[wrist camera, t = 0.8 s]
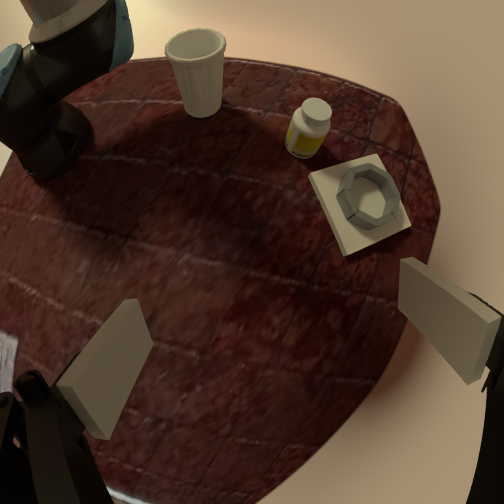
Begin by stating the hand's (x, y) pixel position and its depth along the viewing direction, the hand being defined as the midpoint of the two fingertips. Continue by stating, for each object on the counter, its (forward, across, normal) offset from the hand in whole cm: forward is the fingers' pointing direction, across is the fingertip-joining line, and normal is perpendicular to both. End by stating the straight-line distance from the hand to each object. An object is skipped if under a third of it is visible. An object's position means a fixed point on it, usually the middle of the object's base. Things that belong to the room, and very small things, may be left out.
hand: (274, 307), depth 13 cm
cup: (+35, -6, +19) cm, 41 cm away
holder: (+29, +16, 0) cm, 33 cm away
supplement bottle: (+33, +9, +9) cm, 35 cm away
